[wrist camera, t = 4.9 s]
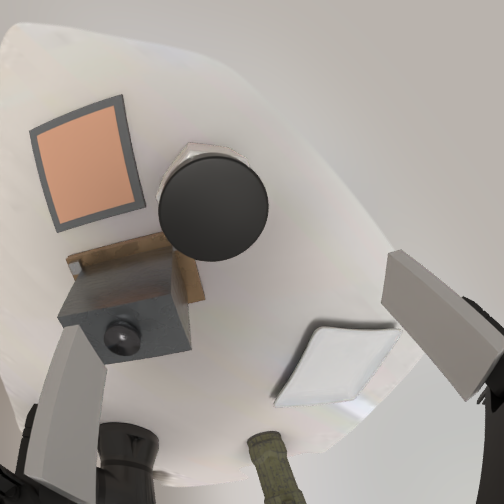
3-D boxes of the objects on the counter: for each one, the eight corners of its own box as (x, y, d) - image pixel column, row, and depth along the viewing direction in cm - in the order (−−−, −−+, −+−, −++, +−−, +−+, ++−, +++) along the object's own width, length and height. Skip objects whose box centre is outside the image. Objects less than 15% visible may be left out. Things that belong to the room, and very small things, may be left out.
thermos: (279, 424, 58) (328, 549, 28) (281, 442, 64) (322, 549, 33) (243, 434, 57) (283, 562, 26) (249, 450, 62) (284, 559, 32)
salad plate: (310, 315, 44) (319, 329, 41) (396, 320, 51) (405, 330, 48) (267, 396, 52) (271, 409, 49) (348, 390, 58) (354, 400, 55)
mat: (58, 231, 29) (56, 233, 28) (31, 130, 23) (28, 131, 22) (146, 205, 30) (145, 207, 30) (122, 94, 24) (121, 94, 24)
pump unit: (97, 317, 35) (79, 383, 25) (68, 256, 30) (32, 314, 20) (204, 295, 37) (215, 362, 27) (186, 226, 32) (189, 280, 22)
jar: (207, 229, 33) (221, 284, 23) (150, 190, 30) (133, 230, 19) (256, 170, 32) (295, 198, 21) (200, 125, 28) (209, 127, 17)
